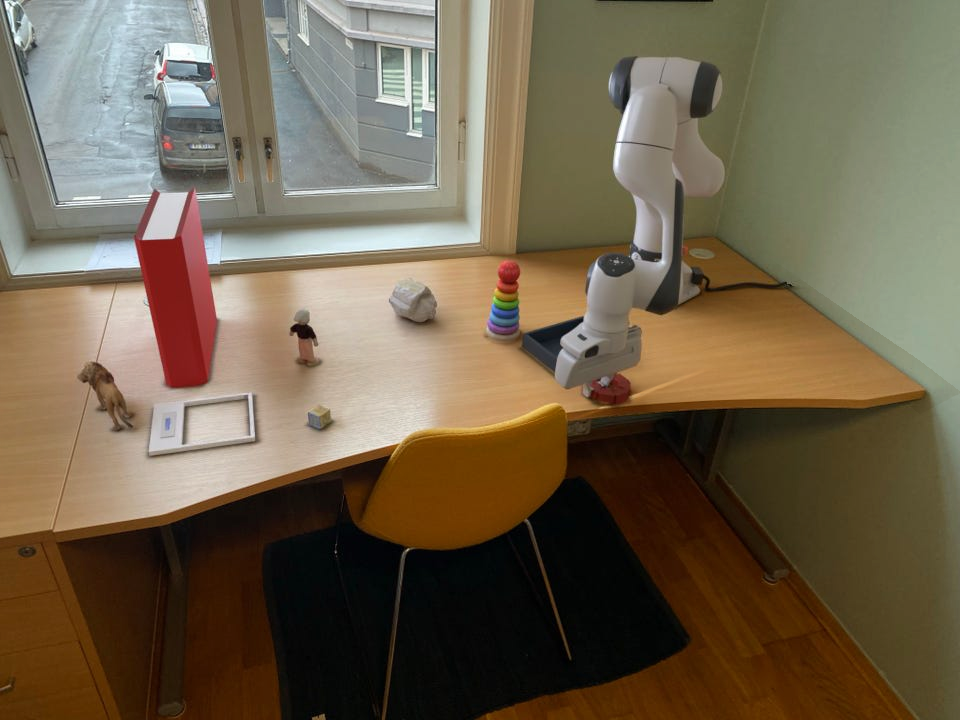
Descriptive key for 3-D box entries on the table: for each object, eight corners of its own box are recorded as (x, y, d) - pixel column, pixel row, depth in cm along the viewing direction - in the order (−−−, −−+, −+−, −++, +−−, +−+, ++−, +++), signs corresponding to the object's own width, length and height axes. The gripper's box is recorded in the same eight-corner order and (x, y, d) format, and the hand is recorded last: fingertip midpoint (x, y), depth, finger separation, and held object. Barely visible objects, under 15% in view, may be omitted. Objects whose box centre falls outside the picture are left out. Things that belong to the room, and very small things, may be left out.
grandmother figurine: (326, 360, 158) (323, 308, 151) (317, 369, 155) (313, 317, 148) (295, 352, 160) (290, 301, 153) (286, 361, 157) (280, 309, 150)
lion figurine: (82, 403, 141) (70, 364, 136) (109, 392, 144) (98, 353, 139) (120, 436, 133) (109, 396, 128) (148, 423, 136) (138, 383, 132)
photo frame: (154, 403, 140) (251, 391, 144) (155, 408, 140) (252, 396, 145) (148, 450, 128) (254, 436, 133) (149, 455, 129) (255, 441, 133)
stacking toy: (516, 346, 167) (523, 272, 157) (482, 341, 168) (487, 267, 158) (522, 329, 173) (528, 257, 163) (489, 324, 175) (494, 252, 165)
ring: (608, 375, 158) (610, 366, 157) (637, 397, 152) (639, 387, 150) (575, 387, 154) (577, 377, 152) (604, 409, 147) (606, 400, 146)
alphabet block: (308, 424, 139) (307, 411, 137) (319, 416, 141) (318, 403, 139) (320, 430, 137) (319, 417, 136) (331, 422, 140) (330, 409, 138)
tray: (580, 331, 174) (582, 315, 172) (618, 357, 165) (621, 341, 163) (521, 349, 166) (522, 333, 164) (557, 378, 156) (559, 362, 154)
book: (180, 322, 168) (154, 188, 151) (217, 319, 170) (195, 187, 153) (165, 388, 146) (132, 240, 129) (207, 385, 148) (180, 238, 131)
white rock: (430, 330, 171) (441, 314, 180) (434, 298, 167) (445, 283, 176) (381, 319, 173) (394, 303, 181) (384, 287, 169) (397, 272, 177)
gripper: (632, 316, 150) (621, 372, 158) (554, 340, 140) (546, 398, 148) (653, 329, 146) (641, 386, 153) (574, 355, 136) (566, 414, 143)
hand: (594, 392), depth 150 cm, fingers closed on ring, 2 cm apart
